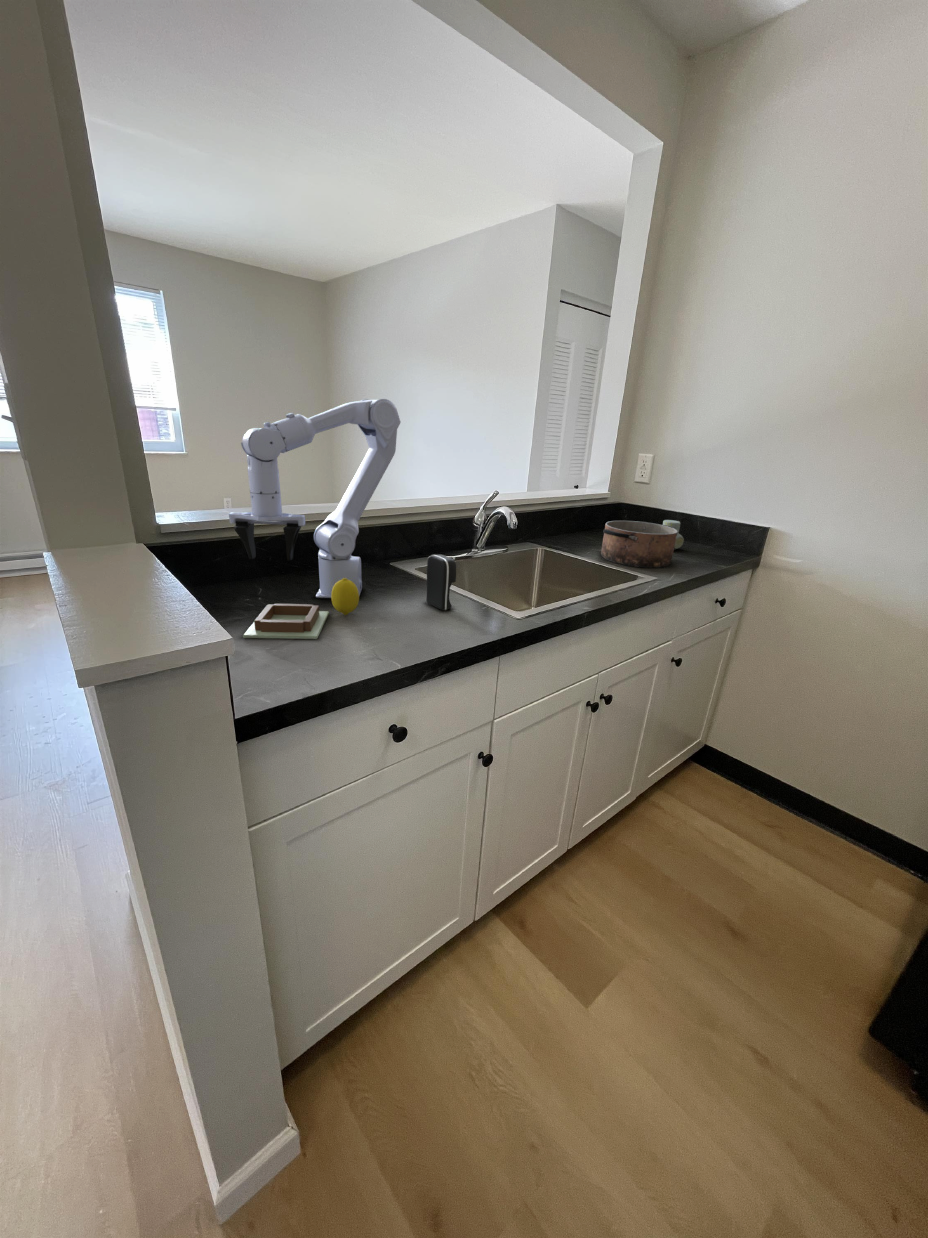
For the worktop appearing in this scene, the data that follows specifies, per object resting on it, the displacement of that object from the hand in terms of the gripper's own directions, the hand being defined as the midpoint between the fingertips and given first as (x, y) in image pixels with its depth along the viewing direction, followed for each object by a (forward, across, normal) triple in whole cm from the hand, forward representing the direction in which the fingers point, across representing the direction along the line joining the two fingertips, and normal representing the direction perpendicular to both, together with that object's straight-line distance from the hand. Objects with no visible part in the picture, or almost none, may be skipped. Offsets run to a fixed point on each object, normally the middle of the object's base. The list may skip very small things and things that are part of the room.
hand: (271, 558), depth 104 cm
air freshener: (+10, +122, +70) cm, 141 cm away
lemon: (+10, +16, -7) cm, 20 cm away
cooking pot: (+10, +102, +51) cm, 115 cm away
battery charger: (+10, +36, 0) cm, 37 cm away
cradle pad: (+10, +6, -13) cm, 17 cm away
